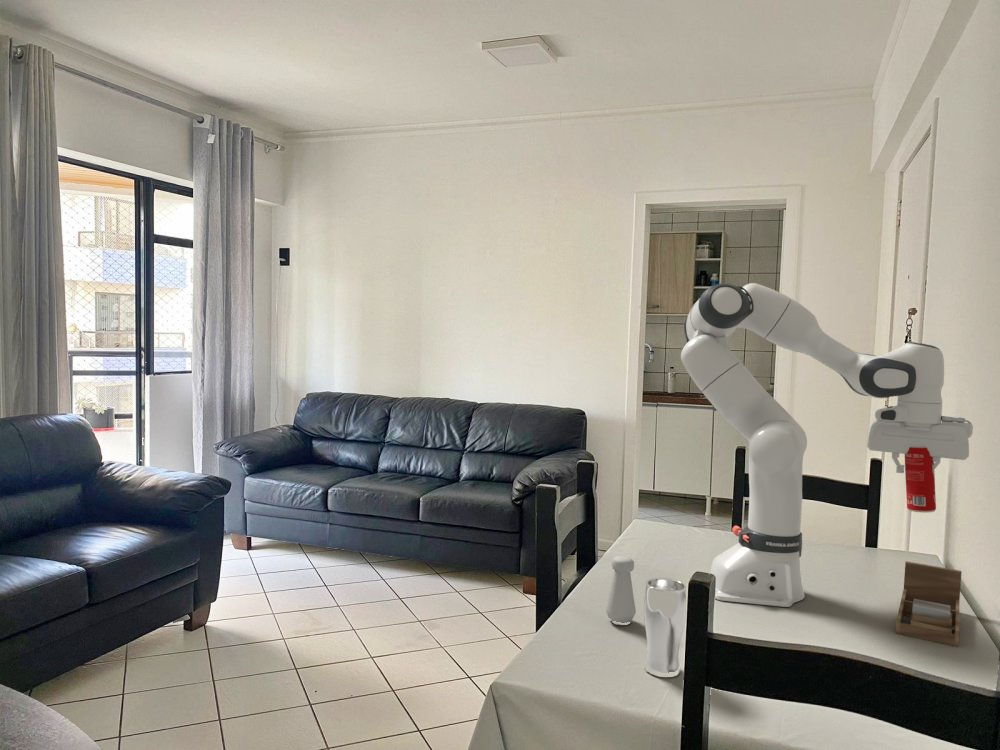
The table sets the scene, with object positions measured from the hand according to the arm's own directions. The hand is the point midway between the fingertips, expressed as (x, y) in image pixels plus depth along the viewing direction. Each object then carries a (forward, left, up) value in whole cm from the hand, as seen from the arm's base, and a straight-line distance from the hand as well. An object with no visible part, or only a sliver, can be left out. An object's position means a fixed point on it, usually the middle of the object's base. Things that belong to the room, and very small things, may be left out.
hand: (914, 474), depth 165 cm
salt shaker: (-70, -24, -27) cm, 79 cm away
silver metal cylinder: (-7, -22, -27) cm, 36 cm away
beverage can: (+1, -1, -8) cm, 8 cm away
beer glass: (-66, -44, -27) cm, 84 cm away
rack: (-6, -18, -27) cm, 33 cm away
